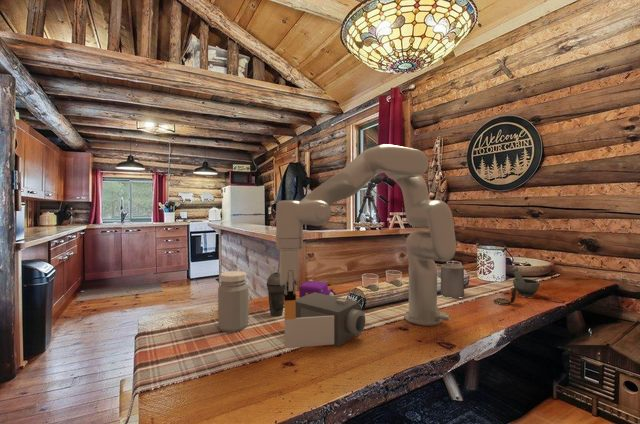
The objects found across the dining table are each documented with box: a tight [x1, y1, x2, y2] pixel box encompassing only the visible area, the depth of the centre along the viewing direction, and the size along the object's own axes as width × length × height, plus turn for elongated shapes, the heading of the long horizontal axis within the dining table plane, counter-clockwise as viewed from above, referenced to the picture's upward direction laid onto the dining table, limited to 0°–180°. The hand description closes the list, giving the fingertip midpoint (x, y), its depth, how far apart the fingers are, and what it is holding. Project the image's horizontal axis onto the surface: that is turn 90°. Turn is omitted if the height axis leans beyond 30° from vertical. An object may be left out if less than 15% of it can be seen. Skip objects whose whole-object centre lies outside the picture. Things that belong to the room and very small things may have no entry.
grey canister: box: [440, 262, 465, 298], centre depth 136 cm, size 10×10×15 cm
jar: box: [217, 270, 249, 333], centre depth 100 cm, size 10×10×18 cm
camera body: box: [296, 292, 366, 348], centre depth 95 cm, size 22×12×11 cm, turn 53°
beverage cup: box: [266, 260, 285, 318], centre depth 112 cm, size 7×7×20 cm
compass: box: [493, 286, 517, 305], centre depth 125 cm, size 8×8×7 cm
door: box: [284, 300, 334, 349], centre depth 85 cm, size 14×1×13 cm, turn 100°
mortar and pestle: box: [511, 267, 540, 298], centre depth 136 cm, size 11×9×12 cm
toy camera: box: [298, 279, 335, 298], centre depth 121 cm, size 11×14×10 cm
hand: (290, 307), depth 86 cm, fingers closed
